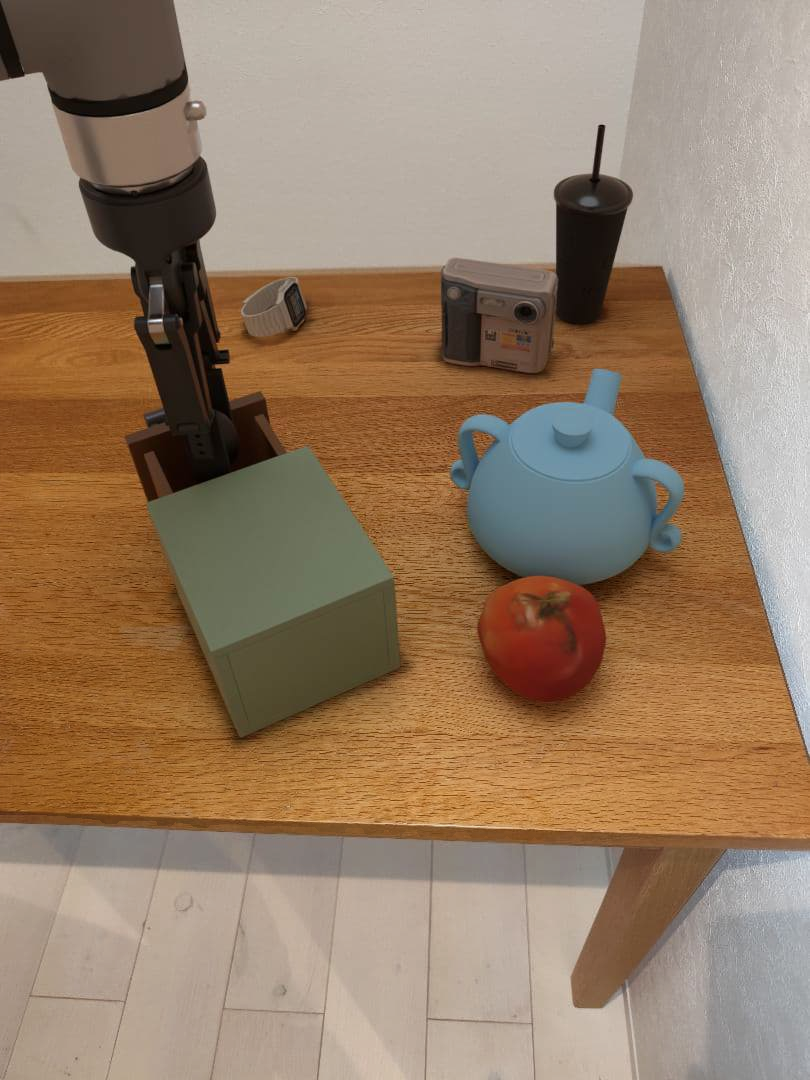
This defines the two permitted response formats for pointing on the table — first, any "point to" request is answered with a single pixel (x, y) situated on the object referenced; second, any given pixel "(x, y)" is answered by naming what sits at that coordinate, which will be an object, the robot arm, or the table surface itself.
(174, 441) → the drawer
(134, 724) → the table surface
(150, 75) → the robot arm
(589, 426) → the teapot
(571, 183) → the drinking cup
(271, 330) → the wristwatch
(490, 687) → the table surface
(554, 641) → the tomato
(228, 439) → the egg
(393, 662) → the cabinet
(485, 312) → the camera
